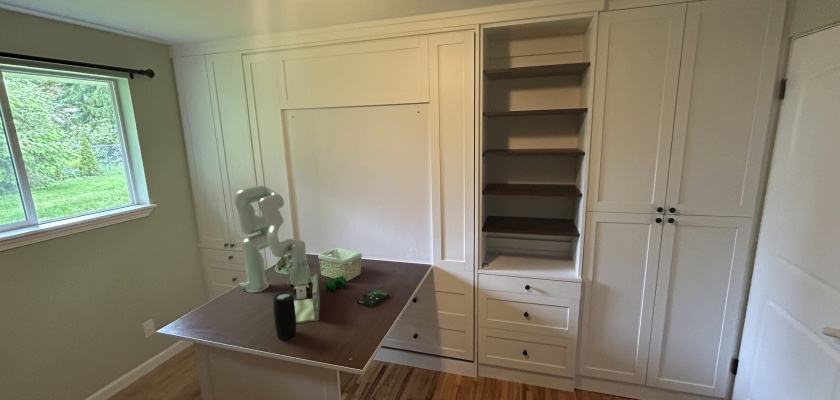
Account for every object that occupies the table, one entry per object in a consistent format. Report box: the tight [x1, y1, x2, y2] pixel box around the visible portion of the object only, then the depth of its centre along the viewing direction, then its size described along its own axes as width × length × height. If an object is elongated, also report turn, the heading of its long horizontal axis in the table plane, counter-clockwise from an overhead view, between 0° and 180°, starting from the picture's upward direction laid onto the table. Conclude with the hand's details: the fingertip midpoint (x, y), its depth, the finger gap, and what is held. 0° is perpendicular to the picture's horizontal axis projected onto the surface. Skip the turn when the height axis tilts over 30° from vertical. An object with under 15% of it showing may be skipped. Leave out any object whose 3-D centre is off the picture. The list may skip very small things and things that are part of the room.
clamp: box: [324, 276, 348, 293], centre depth 195 cm, size 12×6×9 cm, turn 128°
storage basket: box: [318, 247, 363, 282], centre depth 214 cm, size 24×16×15 cm
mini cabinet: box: [295, 284, 308, 300], centre depth 187 cm, size 5×10×7 cm, turn 15°
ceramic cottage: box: [274, 253, 292, 275], centre depth 222 cm, size 16×16×15 cm
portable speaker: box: [272, 290, 297, 341], centre depth 148 cm, size 9×9×20 cm
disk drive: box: [357, 288, 391, 309], centre depth 182 cm, size 10×3×15 cm
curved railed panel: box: [294, 273, 321, 325], centre depth 169 cm, size 19×22×14 cm
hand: (302, 293), depth 188 cm, fingers closed on mini cabinet, 5 cm apart
